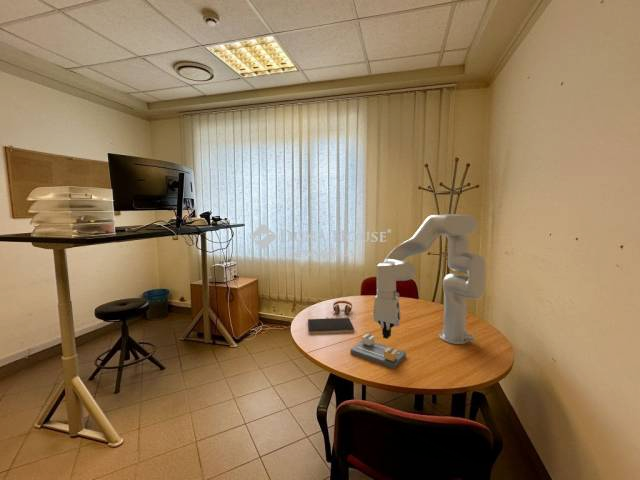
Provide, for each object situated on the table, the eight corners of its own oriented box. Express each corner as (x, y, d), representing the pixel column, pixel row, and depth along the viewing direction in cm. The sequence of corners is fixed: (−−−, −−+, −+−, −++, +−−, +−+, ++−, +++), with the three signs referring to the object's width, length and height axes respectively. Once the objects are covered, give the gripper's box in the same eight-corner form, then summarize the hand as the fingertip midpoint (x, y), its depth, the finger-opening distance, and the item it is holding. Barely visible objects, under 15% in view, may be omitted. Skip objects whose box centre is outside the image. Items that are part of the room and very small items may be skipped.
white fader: (374, 342, 128) (374, 334, 127) (370, 345, 125) (370, 337, 124) (366, 339, 130) (366, 332, 130) (362, 343, 127) (362, 335, 127)
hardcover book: (354, 333, 144) (354, 329, 144) (309, 335, 142) (309, 331, 142) (348, 321, 160) (348, 317, 159) (307, 322, 158) (307, 318, 158)
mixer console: (405, 356, 120) (405, 351, 120) (394, 369, 111) (394, 364, 111) (364, 343, 132) (364, 338, 132) (350, 353, 123) (350, 348, 123)
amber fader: (397, 357, 115) (397, 348, 115) (393, 361, 112) (393, 352, 111) (388, 354, 117) (388, 345, 117) (383, 358, 114) (383, 349, 114)
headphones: (325, 315, 160) (329, 297, 178) (326, 323, 161) (329, 304, 180) (355, 317, 157) (356, 298, 176) (355, 325, 159) (356, 305, 178)
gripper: (408, 294, 112) (407, 338, 114) (373, 288, 121) (374, 329, 123) (400, 299, 106) (400, 346, 108) (365, 293, 115) (365, 336, 117)
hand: (386, 337), depth 116 cm, fingers closed
